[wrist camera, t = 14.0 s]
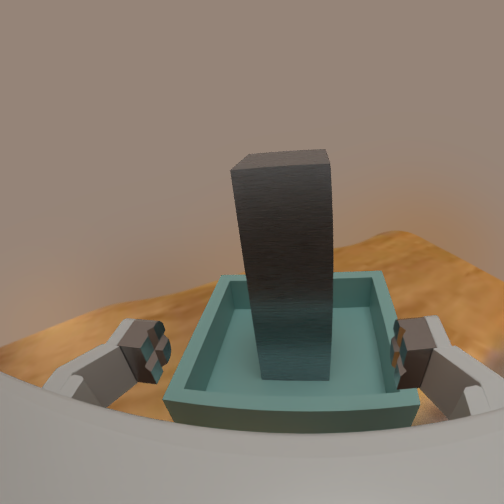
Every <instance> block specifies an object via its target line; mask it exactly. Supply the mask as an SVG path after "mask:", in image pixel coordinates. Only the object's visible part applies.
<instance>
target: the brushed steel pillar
mask: <svg viewBox="0 0 504 504" xmlns="http://www.w3.org/2000/svg"><path fill="white" fill-rule="evenodd" d="M231 177H232V185H233V192H234V199H235V206H236V213H237V220H238V227H239V234H240V240H241V246H242V253H243V260H244V267H245V274H246V281H247V287H248V294H249V301H250V307H251V314H252V320H253V327H254V333H255V340H256V346H257V353H258V359H259V366H260V372H261V378H262V380H281V381H329V380H330V364H331V345H332V319H333V214H332V187H331V168H330V161H329V158H328V155H327V152H326V150H325V149H319V150H300V151H283V152H269V153H257V154H249V155H247V156H246V157H245V158H244V159H243V160H241V161H240V162H239V163H238V164H237V165H236V166H235V167H233V168H232V169H231Z"/></svg>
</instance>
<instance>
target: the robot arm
mask: <svg viewBox="0 0 504 504" xmlns="http://www.w3.org/2000/svg"><path fill="white" fill-rule="evenodd" d="M393 330H394V334H395V336H394V337H393V338H392V339H391V344H390V360H391V365H392V366H393V367H394V368H395V371H394V379H395V384H396V389H397V390H400V389H412V388H420V389H421V390H422V392H423V393H424V394H425V395H426V396H427V397H428V398H429V399H430V400H431V401H432V402H433V403H434V404H435V405H436V406H437V407H438V408H439V409H440V411H441V412H442V413H443V414H444V415H445V416H446V417H447V418H448V421H443V422H437V423H431V424H425V425H419V426H412V427H404V428H396V429H387V430H376V431H364V432H348V433H316V434H298V433H266V432H250V431H237V430H227V429H217V428H209V427H201V426H194V425H187V424H181V423H174V422H169V421H163V420H158V419H152V418H147V417H143V416H138V415H133V414H129V413H124V412H120V411H116V410H112V409H108V408H106V407H108V406H109V405H110V404H111V403H113V402H114V401H115V400H117V399H118V398H119V397H120V396H122V395H123V394H124V393H125V392H127V391H128V390H129V389H130V388H132V387H133V386H134V385H135V384H137V382H143V383H151V384H157V383H158V381H159V379H160V377H161V375H162V373H163V369H162V366H164V365H165V364H167V363H168V361H169V359H170V354H171V345H170V342H169V339H168V338H167V337H166V336H165V335H164V332H165V328H164V325H163V323H162V322H160V321H153V320H141V319H128V318H127V319H124V320H123V321H122V322H121V324H120V325H119V326H118V328H117V329H116V330H115V332H114V333H113V334H112V336H111V337H110V338H109V340H108V341H107V343H106V344H101V345H99V346H97V347H96V348H94V349H92V350H90V351H88V352H86V353H85V354H83V355H81V356H79V357H77V358H75V359H74V360H72V361H70V362H68V363H66V364H64V365H62V366H61V367H59V368H57V369H56V370H55V371H54V372H53V374H52V375H51V376H50V378H49V379H48V380H47V382H46V383H45V384H44V386H43V387H42V388H40V387H38V386H35V385H32V384H30V383H27V382H25V381H22V380H19V379H17V378H15V377H12V376H10V375H7V374H5V373H3V372H0V504H504V379H503V378H502V377H501V376H499V375H498V374H496V373H495V372H494V371H492V370H491V369H489V368H488V367H486V366H485V365H483V364H482V363H480V362H479V361H477V360H476V359H475V358H473V357H472V356H470V355H469V354H467V353H466V352H464V351H463V350H461V349H460V348H458V347H457V346H452V345H451V343H450V341H449V339H448V336H447V334H446V332H445V330H444V328H443V326H442V323H441V321H440V319H439V317H438V316H437V315H433V316H424V317H418V318H407V319H396V320H395V322H394V327H393Z"/></svg>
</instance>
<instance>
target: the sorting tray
mask: <svg viewBox="0 0 504 504" xmlns="http://www.w3.org/2000/svg"><path fill="white" fill-rule="evenodd" d="M396 319H397V316H396V312H395V309H394V306H393V303H392V300H391V297H390V294H389V291H388V288H387V285H386V282H385V279H384V277H383V274H382V271H361V272H333V319H332V345H331V364H330V380H329V381H281V380H262V378H261V372H260V366H259V359H258V353H257V346H256V340H255V333H254V327H253V320H252V314H251V307H250V301H249V294H248V287H247V281H246V275H221V277H220V279H219V281H218V283H217V285H216V287H215V289H214V291H213V294H212V296H211V298H210V300H209V302H208V304H207V306H206V308H205V310H204V312H203V314H202V316H201V318H200V321H199V323H198V325H197V327H196V329H195V331H194V333H193V335H192V337H191V339H190V342H189V344H188V346H187V348H186V350H185V352H184V354H183V356H182V358H181V361H180V363H179V365H178V367H177V369H176V371H175V373H174V375H173V378H172V380H171V382H170V384H169V386H168V388H167V390H166V393H165V395H164V397H163V399H162V400H163V402H164V403H165V405H166V407H167V409H168V411H169V413H170V415H171V417H172V419H173V421H174V422H175V423H181V424H187V425H194V426H201V427H209V428H217V429H227V430H237V431H250V432H266V433H298V434H316V433H348V432H364V431H376V430H387V429H396V428H404V427H411V424H412V422H413V420H414V418H415V416H416V413H417V411H418V409H419V406H420V400H419V396H418V392H417V388H412V389H400V390H397V389H396V384H395V379H394V371H395V368H394V367H393V366H392V365H391V360H390V344H391V339H392V338H393V337H394V336H395V334H394V330H393V327H394V322H395V320H396Z"/></svg>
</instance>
